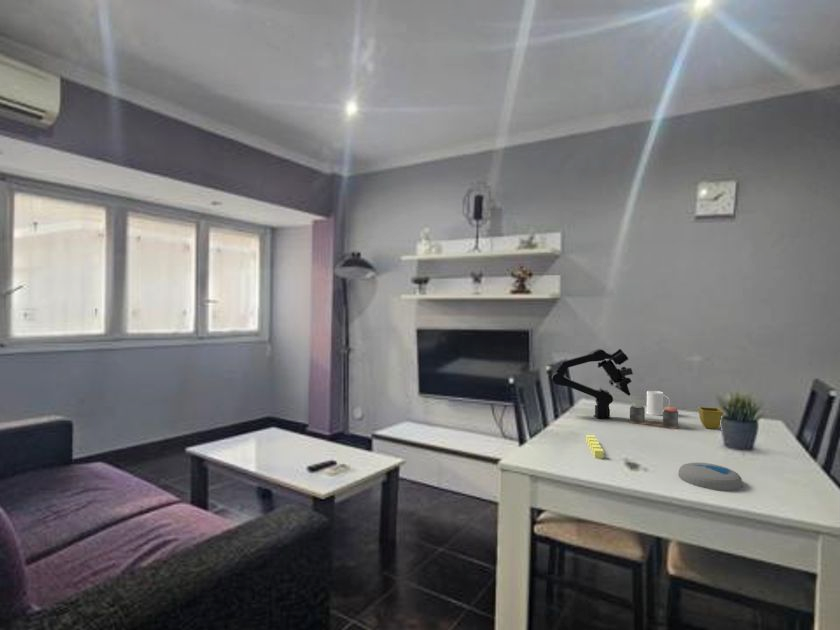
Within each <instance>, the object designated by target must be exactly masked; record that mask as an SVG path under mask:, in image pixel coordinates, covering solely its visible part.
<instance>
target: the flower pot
mask: <svg viewBox="0 0 840 630" xmlns="http://www.w3.org/2000/svg"><path fill="white" fill-rule="evenodd" d="M698 414H699V415H698V416H699V420H700V423H701V424H702V426H704V428H705V429H717V430H718V429H719V427H720V426H721V425H720V420H721V416H722V415H724V411H723V410H721V409H720V408H719V407H704V406H698Z"/></svg>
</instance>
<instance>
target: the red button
mask: <svg viewBox="0 0 840 630" xmlns="http://www.w3.org/2000/svg"><path fill="white" fill-rule="evenodd" d="M663 407H664V410H665V411H668V412H677V411H678V407H676V406H670V405H669V406H668V405H667V406H666V405H665V406H663ZM664 410H663V411H664Z"/></svg>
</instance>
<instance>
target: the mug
mask: <svg viewBox="0 0 840 630" xmlns="http://www.w3.org/2000/svg"><path fill="white" fill-rule="evenodd" d="M664 398H666V399H668V405H667V406H670V405H671V400H670V398H669V397H668V396H667V395H666V394H664V392H663V391H658V390H647V391H646V410H645V414H647V415H650V416H655V415H656V416H657V417H658V416H660V415H661V416H663V411H664V407H665V406H664Z"/></svg>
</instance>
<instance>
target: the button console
mask: <svg viewBox="0 0 840 630" xmlns="http://www.w3.org/2000/svg"><path fill="white" fill-rule="evenodd" d="M645 409H646V408H645V406H644V408H634V407H631V406H630V407H629V421H628V424H632V425H641V426H647V427H648V426H649V427H657V428H663V429H671V430H678V428H679V427H678V426H679V410H677V412H668V411H665V410H663V415H662V421H660V420H659V421H658V420H651V419H646V417H645V414H646V410H645Z"/></svg>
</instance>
